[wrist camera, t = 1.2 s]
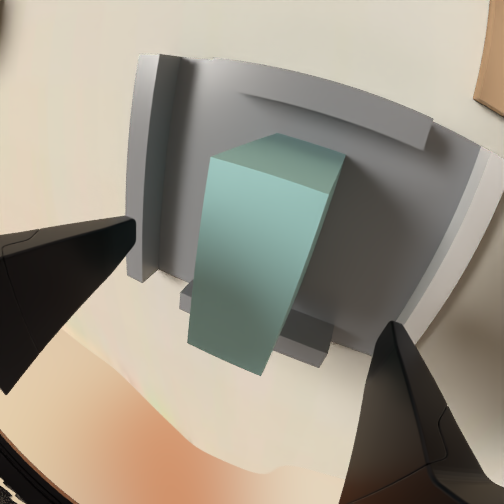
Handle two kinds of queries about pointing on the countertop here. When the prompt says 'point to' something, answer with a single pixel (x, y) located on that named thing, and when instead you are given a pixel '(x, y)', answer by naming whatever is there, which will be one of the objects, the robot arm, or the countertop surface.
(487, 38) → the walnut board
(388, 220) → the dispenser holder
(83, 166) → the countertop surface
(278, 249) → the block
